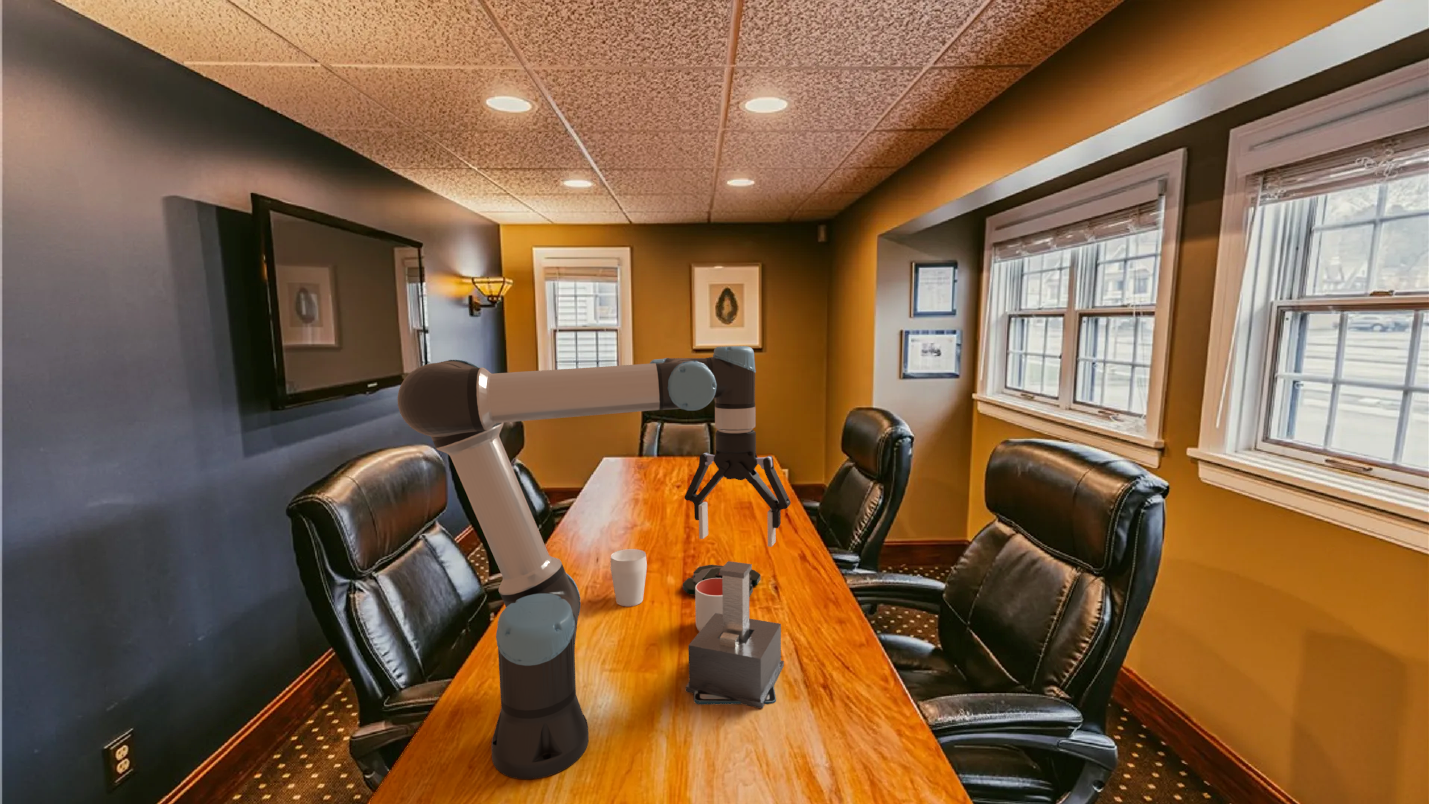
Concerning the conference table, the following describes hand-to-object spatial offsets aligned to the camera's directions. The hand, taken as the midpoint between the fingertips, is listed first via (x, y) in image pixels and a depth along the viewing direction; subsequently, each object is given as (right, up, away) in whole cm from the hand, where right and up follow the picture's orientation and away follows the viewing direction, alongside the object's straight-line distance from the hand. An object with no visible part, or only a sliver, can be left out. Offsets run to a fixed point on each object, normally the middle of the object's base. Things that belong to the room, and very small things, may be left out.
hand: (737, 540), depth 114 cm
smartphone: (-1, -29, -2) cm, 29 cm away
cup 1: (-26, -24, +38) cm, 52 cm away
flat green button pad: (-2, -23, +46) cm, 52 cm away
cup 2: (-4, -26, +23) cm, 35 cm away
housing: (0, -27, +3) cm, 28 cm away
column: (0, -26, +3) cm, 26 cm away
